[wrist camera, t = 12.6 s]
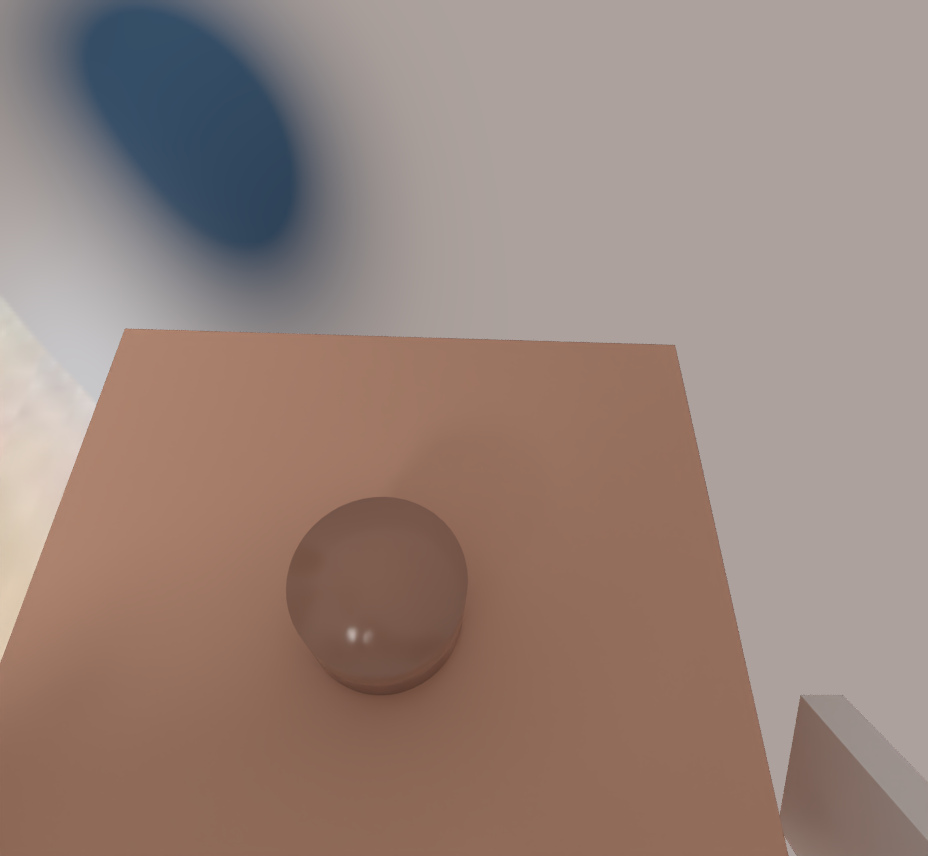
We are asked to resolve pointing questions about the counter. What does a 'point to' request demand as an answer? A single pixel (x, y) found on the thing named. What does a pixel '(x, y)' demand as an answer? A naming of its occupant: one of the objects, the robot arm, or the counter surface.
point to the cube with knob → (383, 611)
